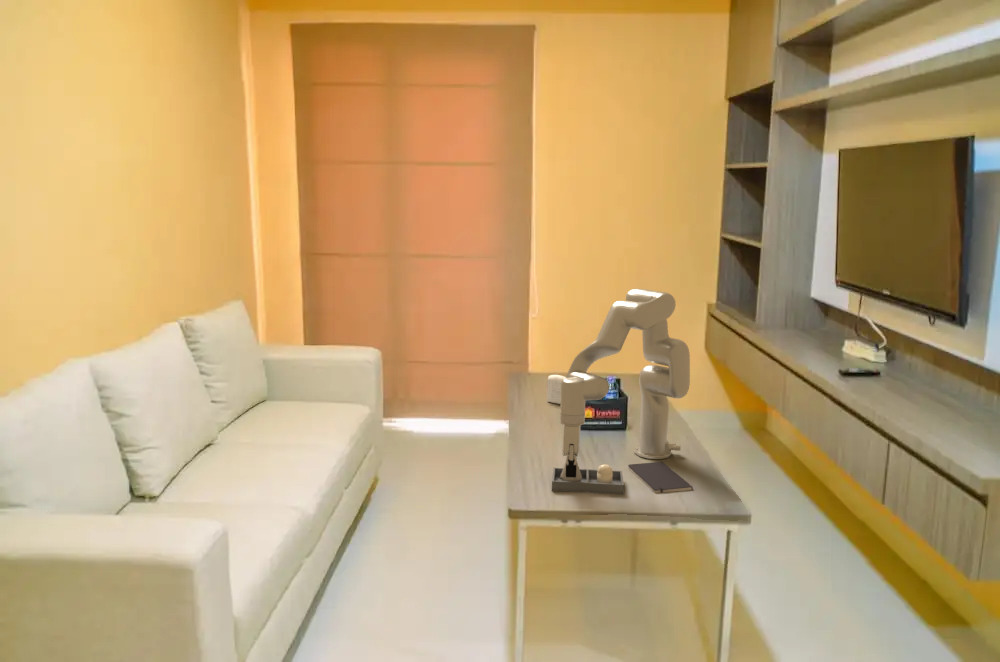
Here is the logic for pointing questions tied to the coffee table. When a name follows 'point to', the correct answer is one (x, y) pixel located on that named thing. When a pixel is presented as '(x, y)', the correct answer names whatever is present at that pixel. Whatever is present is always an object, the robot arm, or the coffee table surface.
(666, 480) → the notebook
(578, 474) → the flask
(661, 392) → the robot arm
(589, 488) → the tray
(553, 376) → the photo printer
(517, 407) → the coffee table surface
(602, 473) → the cream egg
